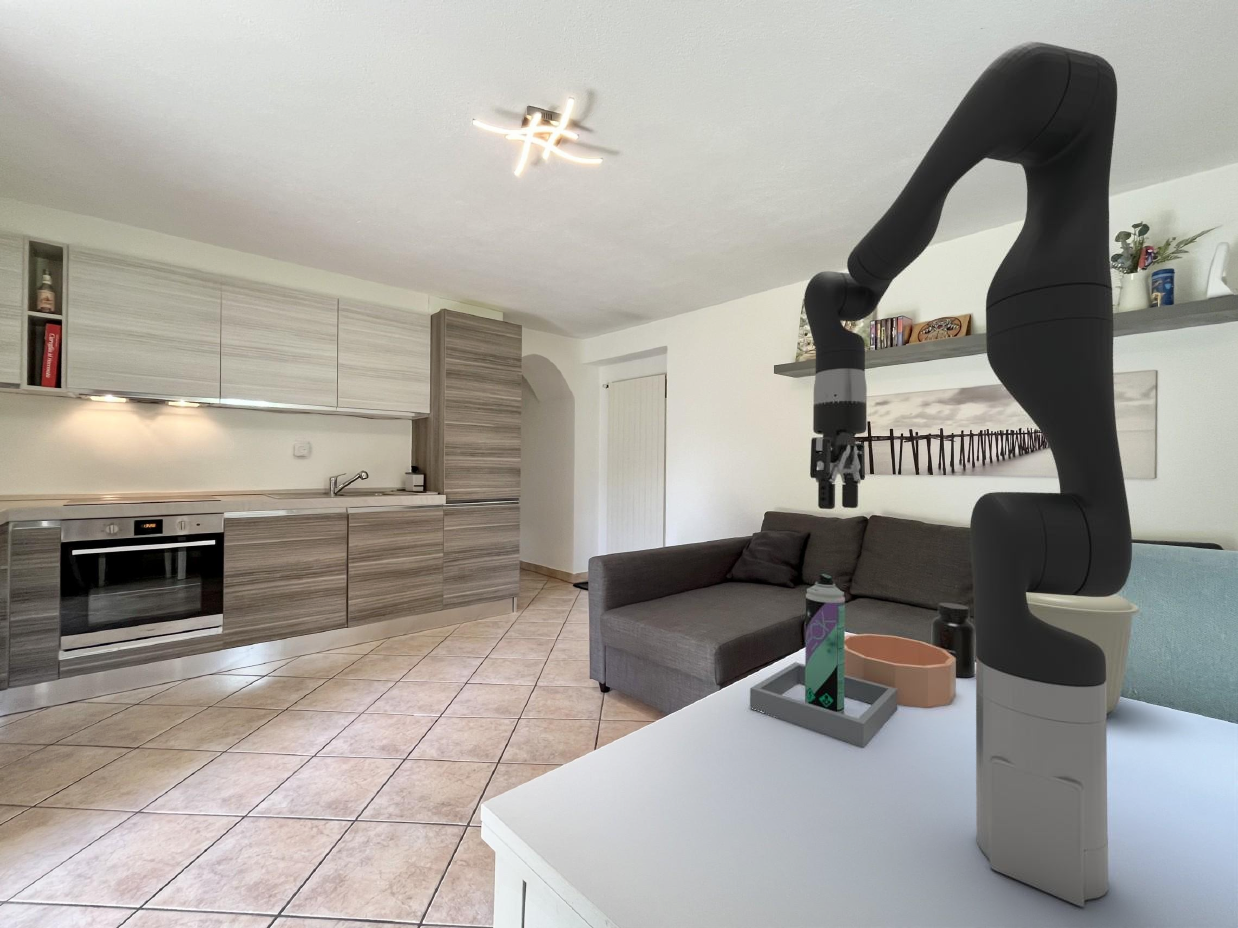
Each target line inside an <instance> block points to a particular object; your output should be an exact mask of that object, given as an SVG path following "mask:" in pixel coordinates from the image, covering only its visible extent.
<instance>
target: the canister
mask: <svg viewBox="0 0 1238 928" xmlns="http://www.w3.org/2000/svg"><path fill="white" fill-rule="evenodd" d="M1026 597H1027V603H1028V607H1029V610H1030V612H1031V613H1032V614H1033V615H1034V616H1036V617H1037V618H1039V619H1040V620H1042V621H1044V622H1046V623H1048V624H1050V625H1052V626H1055V627H1058V628H1060V629H1063V630H1066V631H1069V632H1071V633H1074V634H1077V635H1079V636H1082V637H1084V638H1086V639H1088V640H1090V641H1092V642H1093V643H1095V644H1097V645H1098V646H1099V647H1100V648H1101V649H1102V651H1103V652H1104V655H1105V659H1106V712H1107V714H1108V713H1111V712H1112V711H1113V710H1115V709H1116V707H1117V706H1118V704H1119V701H1120V700H1121V694H1122V689H1123V685H1124V679H1125V674H1126V667H1127V659H1128V654H1129V646H1130V638H1131V632H1132V623H1133V616H1134V615H1135V614H1138V612H1139V611H1140V607H1139V606H1138V605H1136V604H1134V603H1131V602H1129V601H1128V599H1126V598H1125V597H1122V596H1121V595H1119V594H1117V593H1116V594H1114V595H1111V596H1108V597H1085V596H1072V595H1056V594H1042V593H1028V592H1026Z"/></svg>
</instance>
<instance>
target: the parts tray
mask: <svg viewBox="0 0 1238 928" xmlns="http://www.w3.org/2000/svg"><path fill="white" fill-rule="evenodd" d="M797 684H800V685H801V684H802V685H804V686H805V663H799V662H796V661H795V662H793V663H791V664H789V665H788V666H786V667H784V668H783V669H780V670H779V671H777V672H776V673H774V674H772V675H771V676H769V677H767V678H765V679H764V680H762V681H761V682H759V683H757V684H755V685H753V686H751V687H750V688H749V689H750V690H749V691H750V692H749V693H750V695H749V708H750V707H751V708H753V709H756V710H759V711H762V712H764V713H766V714H765V715H767V714H769V715H768V716H770V715H772V716H771V717H773V716H775V717H774V718H776V717H777V718H776V719H779V718H780V719H779V720H781V721H782V720H783V721H785V722H787V721H788V723H790V722H791V724H794V725H796V726H800V727H802V728H804V729H805V728H806V729H809V730H811V731H814V732H816V733H820V734H823V735H825V736H829V737H832V738H833V739H838V740H841V741H843V742H846V743H849V744H852V745H854V746H858V747H861V748H865V747H866V745H867V744H868V743H869V742H870V741H871V740H872V738H873V737H874V736H875V735H876V734H877V733H878V732H879V731H880V729H881V728H882V727H883V726H884V725H885V723H886V722H887V721H889V719H890V718H891V717H892V716H893V715H894V714H895V712H896V711H897V710H898V689H897V688H893V687H889V686H885V685H881V684H878V683H874V682H870V681H866V680H862V679H858V678H854V677H851V676H847V675H844V697H846V698H850V699H852V700H855V701H856V700H857V701H859V702H864V703H867V704H870V706H869V707H868V708H867V709H866V710H865V711H864V712H863V713H862V714H861V715H860V716H859V717H858V718H856V717H853V716H850V715H847V714H841V713H838V712H834V711H831V710H828V709H825V708H822V707H818V706H815V705H812V704H809V703H805V701H802V700H799V699H796V698H792V697H789V696H786V695H783V694H784V693H786V692H788V691H789V690H790V689H791V688H793V687H794V686H796V685H797ZM764 713H763V714H764Z"/></svg>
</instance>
